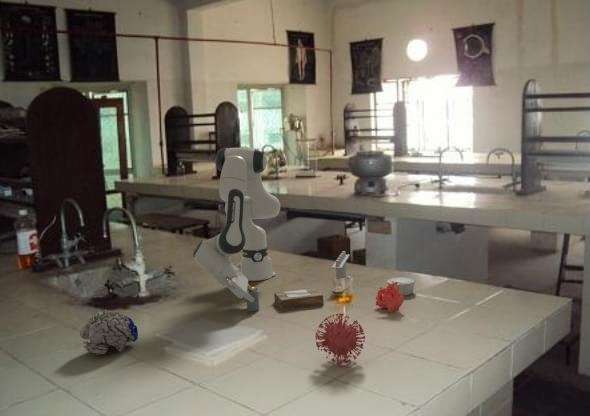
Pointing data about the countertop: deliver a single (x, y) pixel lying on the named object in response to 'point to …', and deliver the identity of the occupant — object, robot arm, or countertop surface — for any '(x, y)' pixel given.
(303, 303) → the dock
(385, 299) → the protein model
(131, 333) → the educational model
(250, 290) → the ball
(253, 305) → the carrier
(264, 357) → the countertop surface
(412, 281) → the ramekin
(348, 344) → the virus model
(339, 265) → the test tube rack
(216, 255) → the robot arm
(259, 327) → the countertop surface
